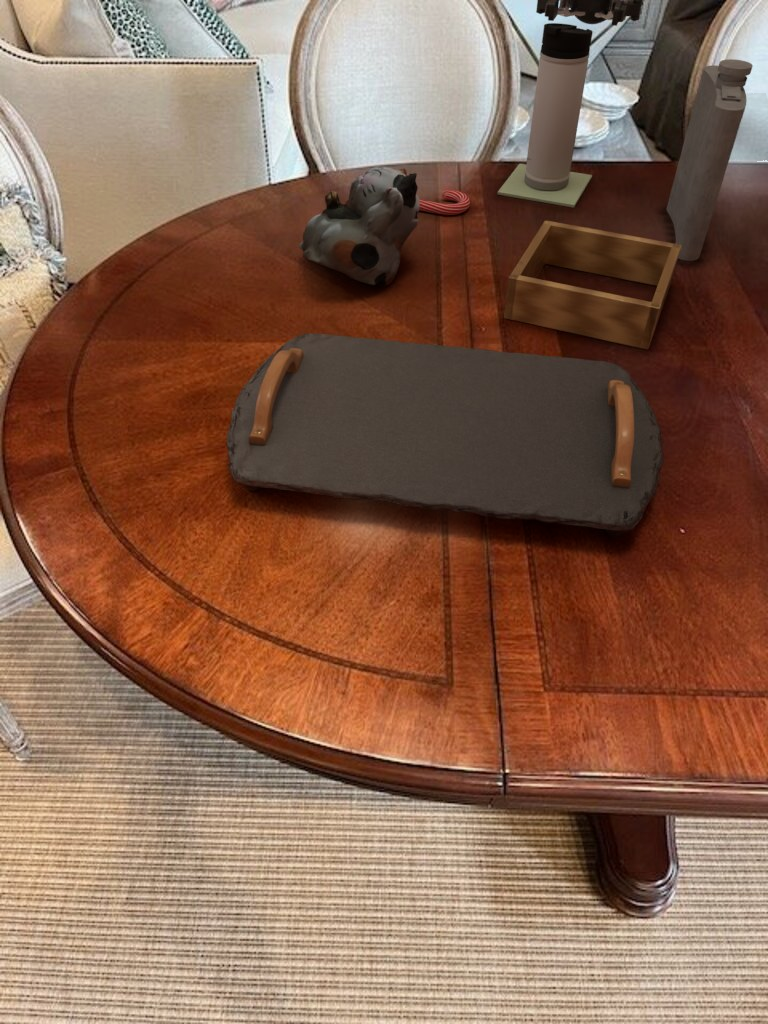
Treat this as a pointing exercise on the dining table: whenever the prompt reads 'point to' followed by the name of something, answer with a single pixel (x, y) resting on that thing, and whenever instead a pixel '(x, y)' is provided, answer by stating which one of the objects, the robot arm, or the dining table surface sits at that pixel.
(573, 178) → the placemat
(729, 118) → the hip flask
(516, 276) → the wooden box
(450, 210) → the candy cane
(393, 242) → the lucky cat figurine
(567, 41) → the travel mug
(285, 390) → the serving tray
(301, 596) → the dining table surface
